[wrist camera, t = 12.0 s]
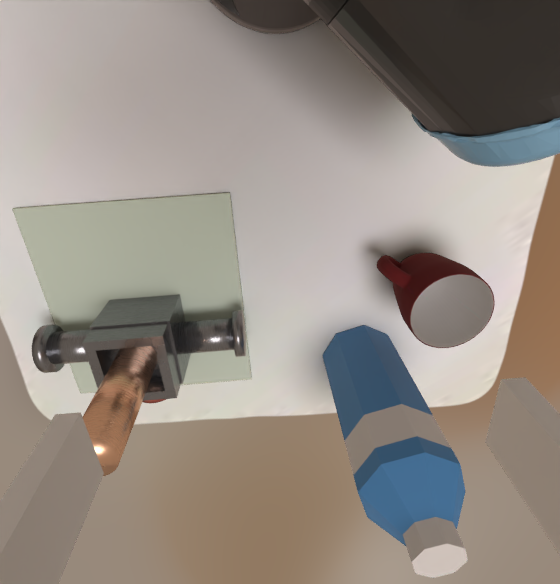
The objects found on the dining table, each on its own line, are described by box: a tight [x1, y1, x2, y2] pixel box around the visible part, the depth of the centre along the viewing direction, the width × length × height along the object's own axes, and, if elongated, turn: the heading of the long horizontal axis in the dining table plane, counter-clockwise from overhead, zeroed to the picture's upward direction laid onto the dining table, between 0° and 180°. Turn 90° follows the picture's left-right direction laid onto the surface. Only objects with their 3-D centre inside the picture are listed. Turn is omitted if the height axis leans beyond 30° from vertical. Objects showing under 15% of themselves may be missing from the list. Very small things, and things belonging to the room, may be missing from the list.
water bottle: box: [323, 325, 468, 578], centre depth 39 cm, size 9×9×25 cm
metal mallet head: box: [32, 294, 246, 403], centre depth 43 cm, size 11×22×8 cm, turn 93°
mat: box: [12, 192, 251, 393], centre depth 45 cm, size 24×22×1 cm
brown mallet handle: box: [82, 346, 158, 476], centre depth 35 cm, size 4×4×13 cm
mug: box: [377, 253, 494, 348], centre depth 41 cm, size 10×8×10 cm
